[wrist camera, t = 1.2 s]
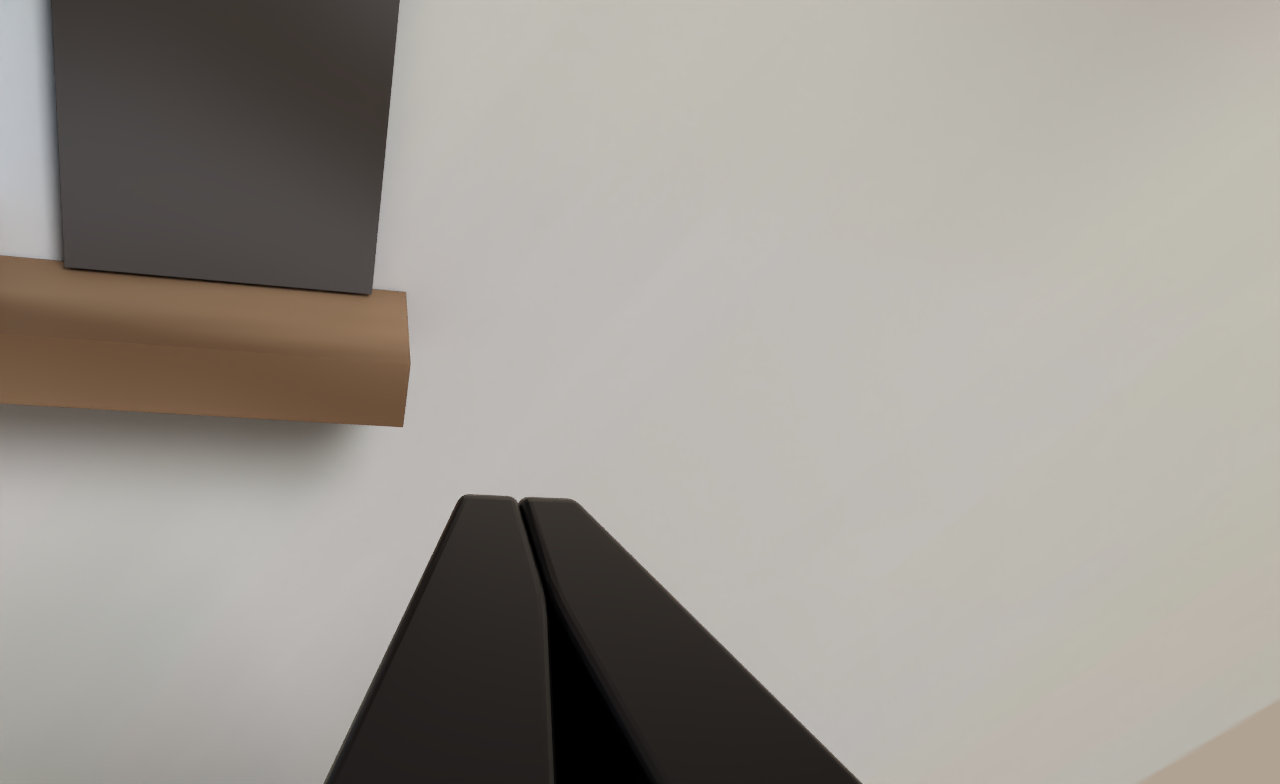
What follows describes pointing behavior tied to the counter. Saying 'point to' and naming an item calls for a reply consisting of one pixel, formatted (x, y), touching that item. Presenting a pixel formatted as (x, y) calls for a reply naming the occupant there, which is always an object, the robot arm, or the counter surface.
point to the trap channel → (215, 216)
